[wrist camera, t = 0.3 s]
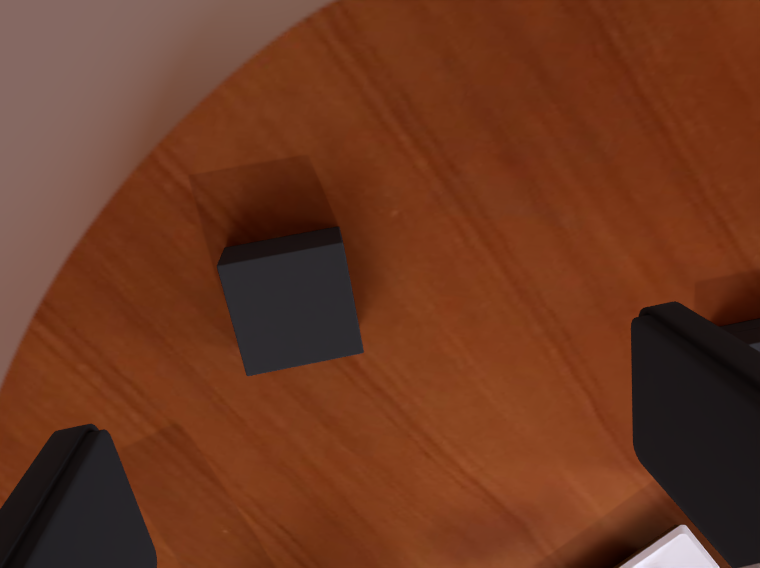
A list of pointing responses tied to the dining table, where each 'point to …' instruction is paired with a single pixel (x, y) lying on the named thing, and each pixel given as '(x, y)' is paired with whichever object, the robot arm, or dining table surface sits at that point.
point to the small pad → (290, 300)
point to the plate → (671, 552)
